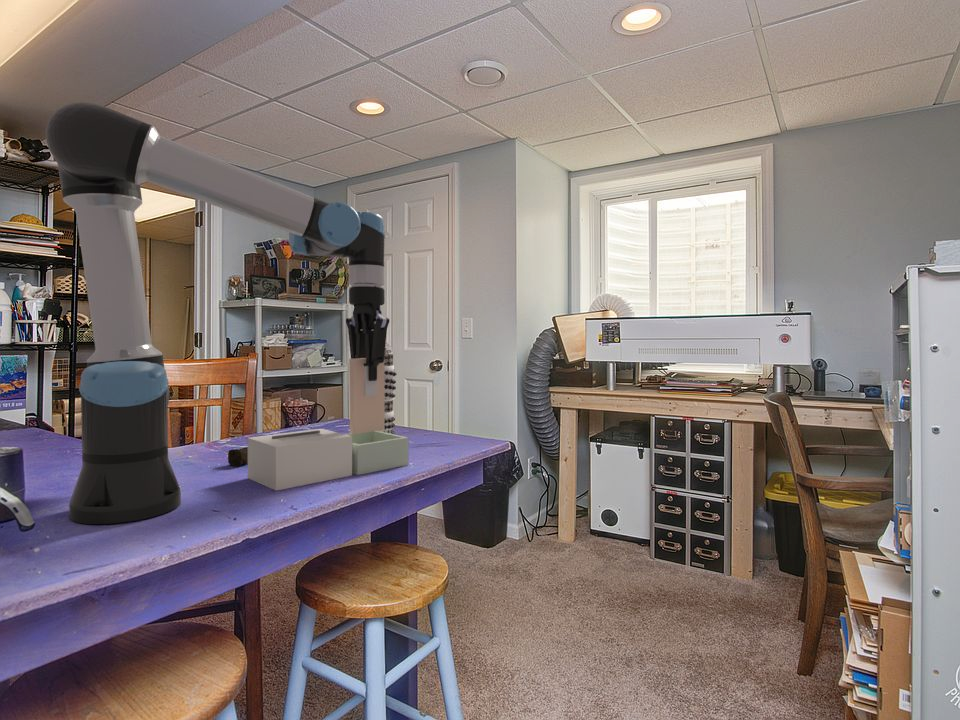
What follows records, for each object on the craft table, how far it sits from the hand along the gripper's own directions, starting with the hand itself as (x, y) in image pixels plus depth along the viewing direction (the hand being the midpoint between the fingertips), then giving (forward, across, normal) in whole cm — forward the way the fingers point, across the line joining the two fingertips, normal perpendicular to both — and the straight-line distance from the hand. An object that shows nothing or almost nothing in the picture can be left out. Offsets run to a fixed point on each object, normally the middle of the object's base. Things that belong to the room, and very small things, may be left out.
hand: (367, 395), depth 122 cm
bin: (+15, 0, 0) cm, 15 cm away
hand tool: (+16, +21, +13) cm, 30 cm away
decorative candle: (+15, +16, -14) cm, 26 cm away
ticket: (+8, 0, 0) cm, 8 cm away
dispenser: (+15, 0, +16) cm, 22 cm away
